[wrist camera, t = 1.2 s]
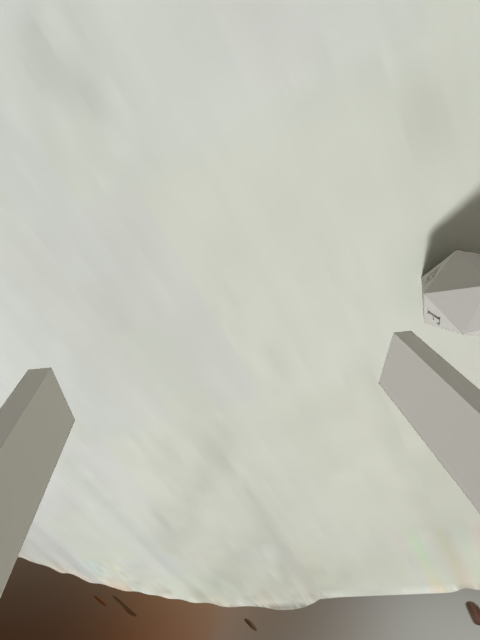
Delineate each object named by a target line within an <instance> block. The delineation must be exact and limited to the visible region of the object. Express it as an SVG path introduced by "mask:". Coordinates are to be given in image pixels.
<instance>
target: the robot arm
mask: <svg viewBox="0 0 480 640" xmlns="http://www.w3.org/2000/svg"><path fill="white" fill-rule="evenodd" d="M379 384H380V386H381V387H382V388H383V390H384V391H385V392H386V393H387V395H388V396H389V397H390V399H391V400H392V401H393V402H394V404H395V405H396V406H397V408H398V409H399V410H400V412H401V413H402V414H403V415H404V417H405V418H406V419H407V421H408V422H409V423H410V424H411V426H412V427H413V428H414V430H415V431H416V432H417V433H418V435H419V436H420V437H421V439H422V440H423V441H424V442H425V444H426V445H427V446H428V448H429V449H430V450H431V451H432V453H433V454H434V455H435V457H436V458H437V459H438V461H439V462H440V463H441V464H442V466H443V467H444V468H445V470H446V471H447V472H448V473H449V475H450V476H451V477H452V479H453V480H454V481H455V482H456V484H457V485H458V486H459V488H460V489H461V490H462V491H463V493H464V494H465V495H466V497H467V498H468V499H469V500H470V502H471V503H472V504H473V506H474V507H475V508H476V509H477V511H478V512H479V513H480V390H479V389H478V388H477V387H476V386H475V385H473V384H472V383H471V382H470V381H469V380H468V379H466V378H465V377H464V376H463V375H462V374H461V373H459V372H458V371H457V370H456V369H455V368H454V367H453V366H451V365H450V364H449V363H448V362H447V361H446V360H444V359H443V358H442V357H441V356H440V355H439V354H437V353H436V352H435V351H434V350H433V349H432V348H430V347H429V346H428V345H427V344H426V343H425V342H423V341H422V340H421V339H420V338H419V337H418V336H416V335H415V334H414V333H413V332H412V331H404V332H395V333H393V336H392V339H391V343H390V346H389V350H388V353H387V356H386V360H385V363H384V366H383V370H382V373H381V377H380V380H379ZM74 421H75V419H74V417H73V414H72V412H71V410H70V408H69V406H68V403H67V401H66V399H65V397H64V395H63V392H62V390H61V388H60V386H59V384H58V381H57V379H56V377H55V375H54V373H53V371H52V368H41V369H32V370H28V371H27V372H26V374H25V375H24V377H23V378H22V379H21V381H20V382H19V383H18V385H17V386H16V388H15V389H14V390H13V392H12V393H11V395H10V396H9V397H8V399H7V400H6V402H5V403H4V404H3V406H2V407H1V409H0V597H1V595H2V592H3V590H4V588H5V585H6V583H7V580H8V578H9V576H10V573H11V571H12V569H13V566H14V564H15V562H16V559H17V557H18V554H19V552H20V550H21V547H22V545H23V543H24V540H25V538H26V535H27V533H28V531H29V528H30V526H31V524H32V521H33V519H34V516H35V514H36V512H37V509H38V507H39V504H40V502H41V500H42V497H43V495H44V493H45V490H46V488H47V485H48V483H49V481H50V478H51V476H52V474H53V471H54V469H55V466H56V464H57V462H58V459H59V457H60V454H61V452H62V450H63V447H64V445H65V443H66V440H67V438H68V435H69V433H70V431H71V428H72V426H73V424H74Z"/></svg>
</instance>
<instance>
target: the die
mask: <svg viewBox="0 0 480 640" xmlns="http://www.w3.org/2000/svg"><path fill="white" fill-rule="evenodd" d="M421 279H422V296H423V314H424V323H427V324H430V325H433V326H437V327H440V328H443V329H446V330H449V331H452V332H456V333H459V334H462V335H471V336H479V335H480V254H478V253H472V252H466V251H460V250H456V251H455V252H453V253H452V254H451V255H450V256H448V257H447V258H446V259H444V260H443V261H442V262H441V263H439V264H438V265H437V266H436V267H434V268H433V269H432V270H430V271H429V272H428V273H427V274H425V275H424V276H423V277H421Z"/></svg>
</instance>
